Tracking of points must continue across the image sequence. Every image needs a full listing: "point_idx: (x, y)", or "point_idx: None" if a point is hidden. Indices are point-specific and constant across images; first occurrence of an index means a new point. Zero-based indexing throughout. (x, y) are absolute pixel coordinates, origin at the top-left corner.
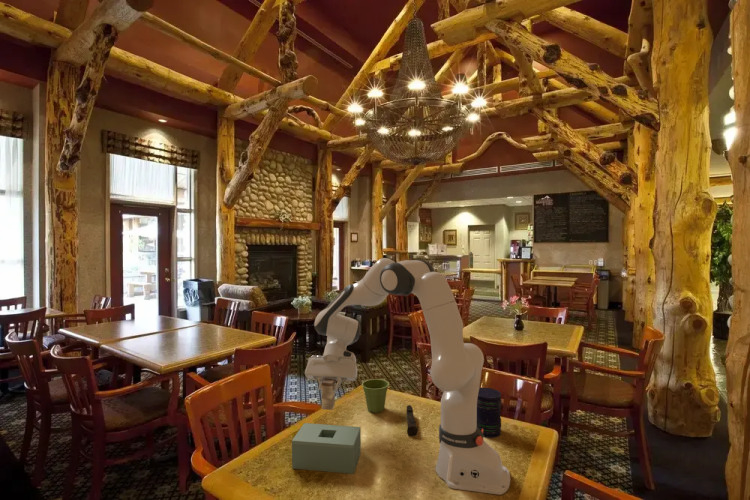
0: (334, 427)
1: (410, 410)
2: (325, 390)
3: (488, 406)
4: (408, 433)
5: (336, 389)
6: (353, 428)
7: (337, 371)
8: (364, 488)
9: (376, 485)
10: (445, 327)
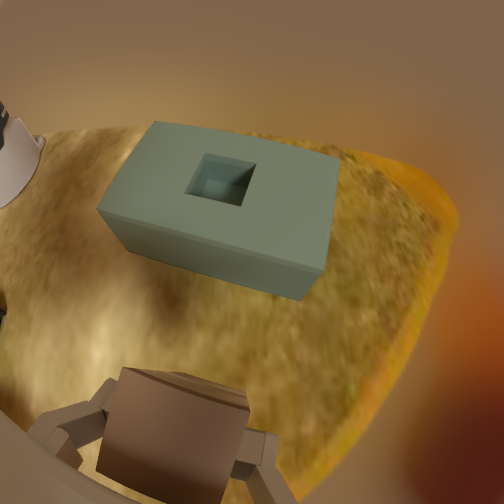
0: (189, 214)
1: None
2: (209, 391)
3: None
4: (2, 310)
5: (110, 380)
6: (121, 201)
7: (21, 493)
8: None
9: (136, 142)
10: None
